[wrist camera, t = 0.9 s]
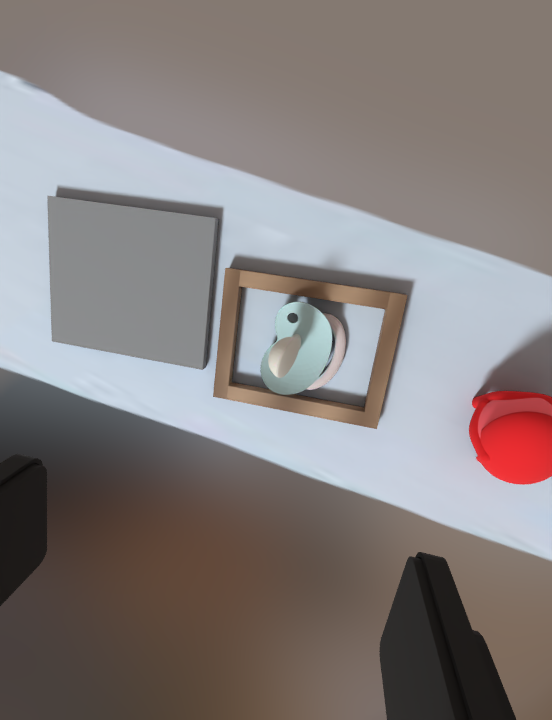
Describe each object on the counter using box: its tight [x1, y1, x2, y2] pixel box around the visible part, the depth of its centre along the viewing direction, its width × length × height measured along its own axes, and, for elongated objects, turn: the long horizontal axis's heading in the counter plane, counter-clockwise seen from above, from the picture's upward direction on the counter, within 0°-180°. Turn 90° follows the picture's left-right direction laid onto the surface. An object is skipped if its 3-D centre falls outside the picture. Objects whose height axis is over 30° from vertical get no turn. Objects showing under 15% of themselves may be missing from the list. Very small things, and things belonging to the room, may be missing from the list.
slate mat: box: [48, 196, 219, 370], centre depth 31 cm, size 14×12×1 cm
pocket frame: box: [213, 268, 408, 429], centre depth 30 cm, size 14×11×1 cm
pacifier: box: [261, 302, 346, 395], centre depth 28 cm, size 7×6×6 cm
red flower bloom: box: [469, 391, 552, 484], centre depth 27 cm, size 8×6×6 cm
